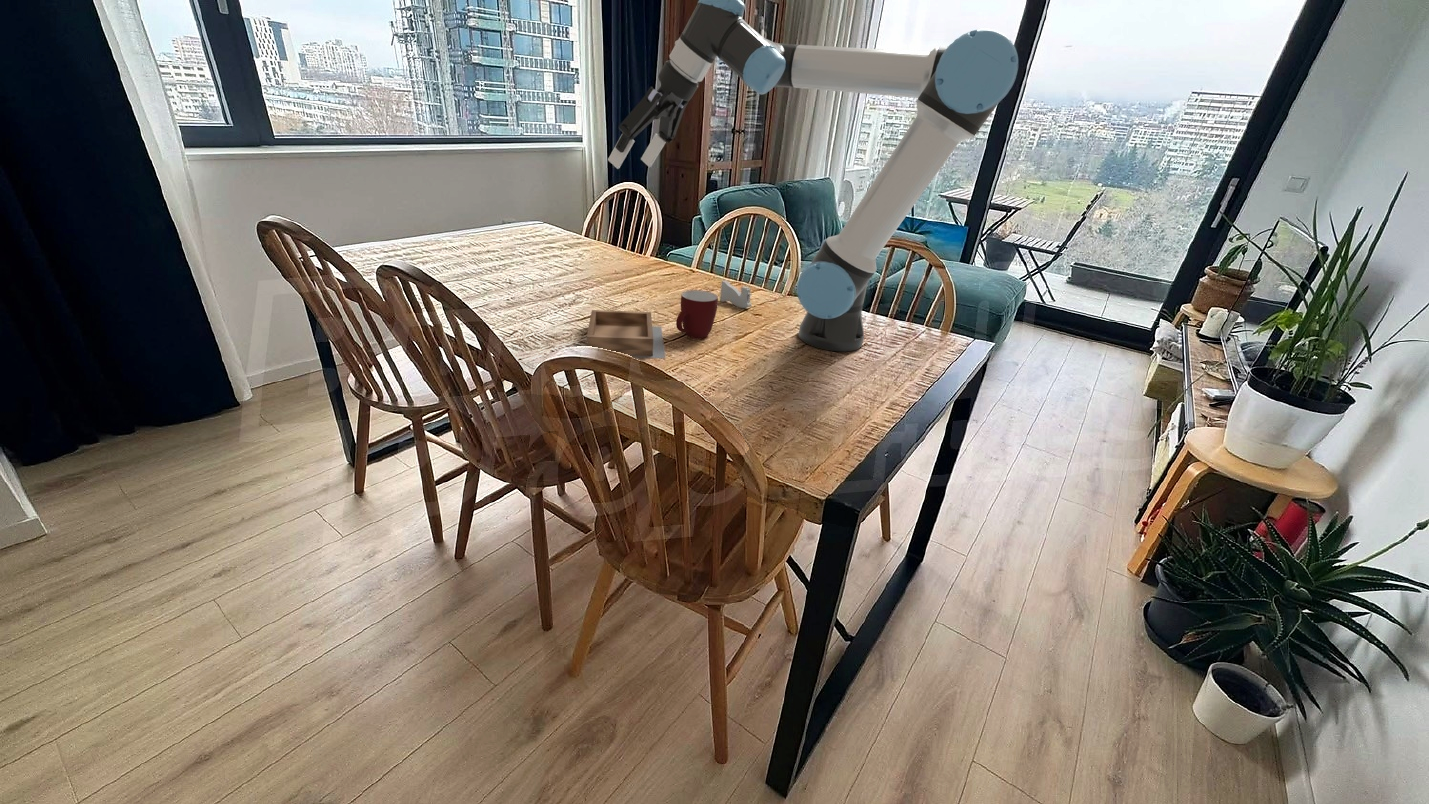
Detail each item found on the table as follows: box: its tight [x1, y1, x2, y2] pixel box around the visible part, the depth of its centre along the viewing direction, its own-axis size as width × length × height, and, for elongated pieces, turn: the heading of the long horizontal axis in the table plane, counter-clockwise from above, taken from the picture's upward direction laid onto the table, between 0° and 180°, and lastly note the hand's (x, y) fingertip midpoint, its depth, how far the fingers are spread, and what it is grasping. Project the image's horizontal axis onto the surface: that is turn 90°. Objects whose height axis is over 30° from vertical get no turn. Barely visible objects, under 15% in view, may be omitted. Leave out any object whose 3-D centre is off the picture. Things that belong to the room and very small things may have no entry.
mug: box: [675, 289, 719, 340], centre depth 126 cm, size 10×8×10 cm
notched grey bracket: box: [719, 280, 753, 309], centre depth 152 cm, size 6×1×10 cm
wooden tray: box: [586, 309, 653, 356], centre depth 121 cm, size 13×16×4 cm
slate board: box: [585, 325, 666, 360], centre depth 122 cm, size 16×18×1 cm
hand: (630, 163), depth 122 cm, fingers open, 13 cm apart
